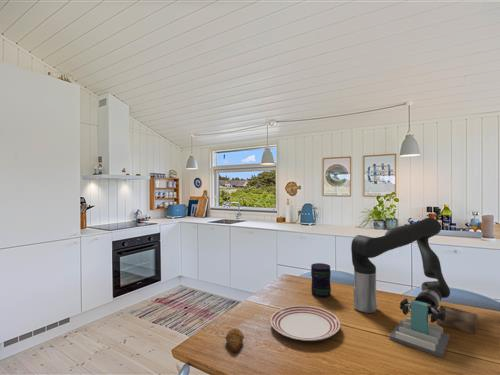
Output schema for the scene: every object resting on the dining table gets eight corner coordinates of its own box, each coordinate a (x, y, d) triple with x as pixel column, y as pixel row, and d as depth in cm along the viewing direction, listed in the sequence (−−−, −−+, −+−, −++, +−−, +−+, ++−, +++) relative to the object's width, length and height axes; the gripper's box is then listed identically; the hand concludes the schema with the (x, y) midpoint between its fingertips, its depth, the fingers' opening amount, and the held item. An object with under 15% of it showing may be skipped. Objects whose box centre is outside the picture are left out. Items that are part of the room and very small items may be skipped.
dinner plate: (262, 340, 101) (261, 331, 101) (279, 308, 126) (279, 301, 126) (339, 354, 91) (339, 344, 91) (341, 316, 117) (341, 309, 117)
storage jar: (310, 290, 146) (310, 262, 146) (329, 291, 145) (328, 263, 145) (312, 298, 136) (311, 268, 136) (332, 298, 135) (331, 269, 135)
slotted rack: (389, 339, 99) (389, 330, 99) (401, 323, 110) (401, 315, 110) (442, 357, 88) (442, 347, 88) (449, 337, 99) (449, 329, 99)
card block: (410, 334, 100) (410, 301, 100) (412, 331, 102) (412, 299, 102) (426, 339, 97) (426, 305, 97) (428, 336, 99) (427, 303, 98)
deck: (436, 323, 110) (436, 313, 110) (441, 314, 117) (440, 305, 117) (475, 334, 102) (474, 323, 101) (477, 323, 109) (477, 313, 109)
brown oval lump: (226, 333, 106) (226, 320, 106) (243, 332, 106) (243, 320, 106) (224, 355, 92) (224, 340, 92) (244, 354, 92) (244, 339, 92)
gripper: (407, 287, 114) (396, 300, 103) (449, 297, 105) (441, 311, 93) (407, 305, 115) (396, 319, 103) (449, 316, 105) (441, 333, 93)
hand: (417, 316), depth 98 cm, fingers open, 8 cm apart
